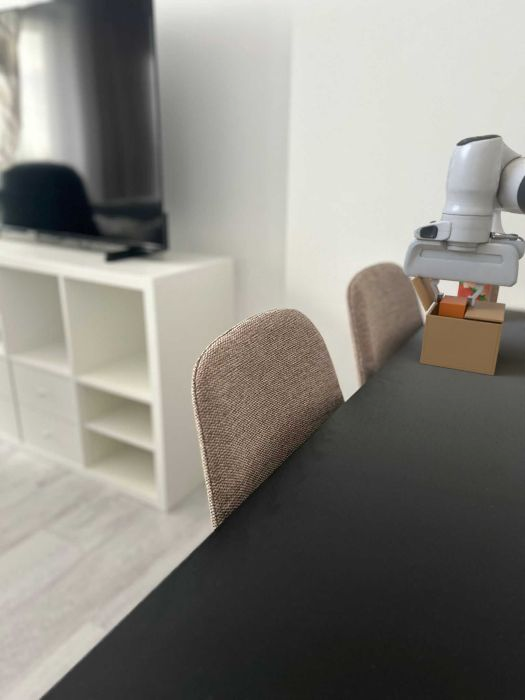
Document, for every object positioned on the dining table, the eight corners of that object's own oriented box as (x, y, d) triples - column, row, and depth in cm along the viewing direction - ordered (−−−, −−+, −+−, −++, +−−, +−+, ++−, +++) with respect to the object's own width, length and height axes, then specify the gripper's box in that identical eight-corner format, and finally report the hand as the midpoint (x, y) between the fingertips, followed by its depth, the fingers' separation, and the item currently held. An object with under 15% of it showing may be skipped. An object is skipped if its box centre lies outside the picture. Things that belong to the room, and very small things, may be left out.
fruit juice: (501, 321, 127) (523, 204, 118) (467, 322, 125) (486, 203, 116) (479, 311, 136) (498, 201, 126) (447, 312, 134) (463, 201, 125)
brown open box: (493, 375, 92) (503, 320, 89) (419, 363, 97) (426, 310, 94) (497, 353, 104) (506, 303, 101) (430, 343, 109) (437, 295, 106)
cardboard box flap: (413, 279, 93) (411, 280, 94) (427, 311, 94) (425, 311, 94) (425, 268, 105) (423, 268, 105) (438, 296, 106) (436, 296, 106)
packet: (466, 310, 101) (468, 297, 100) (463, 318, 95) (465, 305, 94) (442, 307, 103) (444, 294, 102) (438, 315, 97) (439, 302, 96)
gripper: (527, 233, 92) (513, 307, 97) (412, 225, 100) (404, 294, 105) (528, 236, 87) (513, 315, 91) (405, 228, 95) (397, 300, 100)
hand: (453, 304), depth 98 cm, fingers closed on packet, 4 cm apart
